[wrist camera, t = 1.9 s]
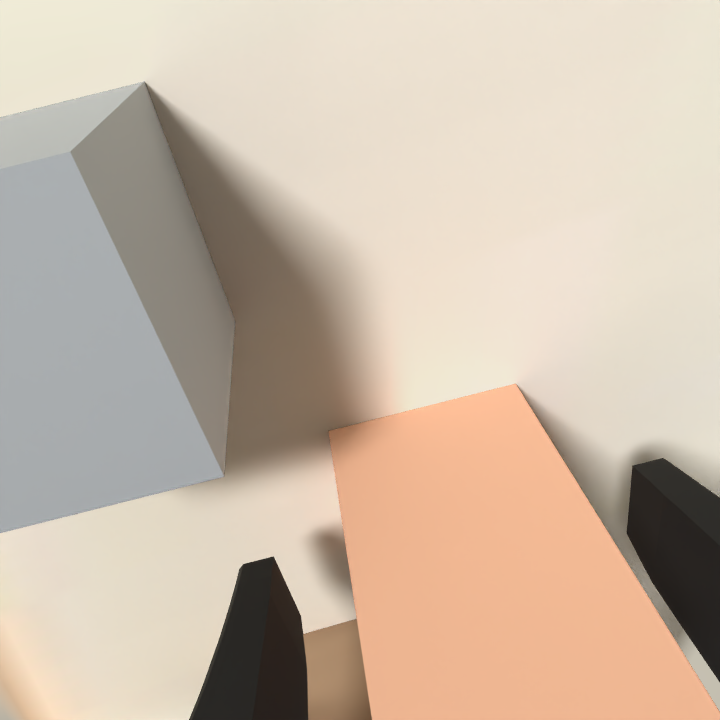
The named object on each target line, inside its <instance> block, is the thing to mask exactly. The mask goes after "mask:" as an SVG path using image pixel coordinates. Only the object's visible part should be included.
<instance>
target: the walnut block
mask: <svg viewBox="0 0 720 720" xmlns="http://www.w3.org/2000/svg"><path fill="white" fill-rule="evenodd" d="M303 637H304V645H305V654H306V663H307V681H308V720H372V716H371V710H370V703H369V696H368V690H367V683H366V676H365V670H364V663H363V657H362V650H361V643H360V637H359V630H358V623H357V619H355V620H351V621H348V622H344V623H341V624H337V625H334V626H330V627H327V628H323V629H320V630H316V631H313V632H309V633H306V634H303Z"/></svg>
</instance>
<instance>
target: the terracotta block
mask: <svg viewBox="0 0 720 720" xmlns="http://www.w3.org/2000/svg"><path fill="white" fill-rule="evenodd" d="M329 438H330V445H331V451H332V458H333V465H334V471H335V478H336V484H337V491H338V498H339V504H340V511H341V517H342V524H343V531H344V537H345V544H346V551H347V557H348V564H349V570H350V577H351V584H352V590H353V597H354V604H355V610H356V617H357V623H358V630H359V637H360V643H361V650H362V657H363V663H364V670H365V676H366V683H367V690H368V696H369V703H370V710H371V716H372V720H720V711H719V710H718V708H717V707H716V705H715V703H714V702H713V700H712V699H711V697H710V696H709V694H708V692H707V690H706V689H705V688H704V686H703V684H702V683H701V681H700V679H699V678H698V676H697V674H696V673H695V671H694V670H693V668H692V666H691V665H690V663H689V662H688V660H687V658H686V657H685V655H684V653H683V652H682V650H681V649H680V647H679V645H678V644H677V642H676V641H675V639H674V637H673V636H672V634H671V633H670V631H669V629H668V628H667V626H666V625H665V623H664V621H663V620H662V618H661V617H660V615H659V613H658V612H657V610H656V608H655V607H654V605H653V604H652V602H651V600H650V599H649V597H648V596H647V594H646V592H645V591H644V589H643V588H642V586H641V584H640V583H639V581H638V580H637V578H636V576H635V575H634V573H633V571H632V570H631V568H630V567H629V565H628V563H627V562H626V560H625V559H624V557H623V555H622V554H621V552H620V551H619V549H618V547H617V546H616V544H615V543H614V541H613V539H612V538H611V536H610V535H609V533H608V531H607V530H606V528H605V526H604V525H603V523H602V522H601V520H600V518H599V517H598V515H597V514H596V512H595V510H594V509H593V507H592V506H591V504H590V502H589V501H588V499H587V498H586V496H585V494H584V493H583V491H582V490H581V488H580V486H579V485H578V483H577V481H576V480H575V478H574V477H573V475H572V473H571V472H570V470H569V469H568V467H567V465H566V464H565V462H564V461H563V459H562V457H561V456H560V454H559V453H558V451H557V449H556V448H555V446H554V445H553V443H552V441H551V440H550V438H549V436H548V435H547V433H546V432H545V430H544V428H543V427H542V425H541V424H540V422H539V420H538V419H537V417H536V416H535V414H534V412H533V411H532V409H531V408H530V406H529V404H528V403H527V401H526V400H525V398H524V396H523V395H522V393H521V391H520V390H519V388H518V387H517V385H516V384H513V385H509V386H505V387H501V388H497V389H493V390H489V391H485V392H481V393H477V394H473V395H469V396H465V397H461V398H457V399H453V400H449V401H445V402H441V403H437V404H433V405H429V406H425V407H421V408H417V409H413V410H409V411H406V412H402V413H398V414H394V415H390V416H386V417H382V418H378V419H374V420H370V421H366V422H362V423H358V424H354V425H350V426H346V427H342V428H338V429H334V430H330V431H329Z"/></svg>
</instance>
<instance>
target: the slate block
mask: <svg viewBox="0 0 720 720" xmlns="http://www.w3.org/2000/svg"><path fill="white" fill-rule="evenodd" d="M234 332H235V319H234V317H233V314H232V311H231V309H230V306H229V303H228V301H227V298H226V295H225V293H224V290H223V287H222V285H221V282H220V280H219V277H218V274H217V272H216V269H215V266H214V264H213V261H212V258H211V256H210V253H209V251H208V248H207V245H206V243H205V240H204V237H203V235H202V232H201V229H200V227H199V224H198V221H197V219H196V216H195V214H194V211H193V208H192V206H191V203H190V200H189V198H188V195H187V192H186V190H185V187H184V184H183V182H182V179H181V177H180V174H179V171H178V169H177V166H176V163H175V161H174V158H173V155H172V153H171V150H170V148H169V145H168V142H167V140H166V137H165V134H164V132H163V129H162V126H161V124H160V121H159V118H158V116H157V113H156V111H155V108H154V105H153V103H152V100H151V97H150V95H149V92H148V89H147V87H146V84H145V82H141V83H137V84H133V85H129V86H125V87H121V88H117V89H113V90H109V91H105V92H101V93H96V94H92V95H88V96H84V97H80V98H76V99H72V100H68V101H64V102H60V103H56V104H52V105H48V106H44V107H40V108H36V109H32V110H28V111H24V112H20V113H16V114H12V115H8V116H4V117H0V533H3V532H7V531H11V530H15V529H19V528H22V527H26V526H30V525H34V524H38V523H42V522H46V521H50V520H54V519H58V518H62V517H66V516H70V515H74V514H78V513H82V512H86V511H90V510H94V509H98V508H102V507H106V506H110V505H114V504H118V503H122V502H126V501H130V500H134V499H138V498H142V497H145V496H149V495H153V494H157V493H161V492H165V491H169V490H173V489H177V488H181V487H185V486H189V485H193V484H197V483H201V482H205V481H209V480H213V479H217V478H221V477H224V473H225V459H226V445H227V431H228V417H229V403H230V389H231V374H232V360H233V346H234Z"/></svg>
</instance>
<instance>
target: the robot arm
mask: <svg viewBox="0 0 720 720" xmlns="http://www.w3.org/2000/svg"><path fill="white" fill-rule="evenodd" d="M627 534H628V536H629V538H630V540H631V542H632V544H633V546H634V548H635V550H636V552H637V554H638V556H639V558H640V560H641V562H642V564H643V566H644V568H645V569H646V571H647V573H648V575H649V577H650V579H651V581H652V582H653V584H654V585H655V587H656V589H657V590H658V592H659V593H660V595H661V596H662V598H663V599H664V601H665V602H666V604H667V605H668V607H669V608H670V610H671V611H672V613H673V614H674V615H675V617H676V618H677V620H678V621H679V623H680V624H681V626H682V627H683V629H684V630H685V632H686V633H687V635H688V636H689V638H690V639H691V641H692V642H693V644H694V645H695V646H696V648H697V649H698V651H699V652H700V654H701V655H702V657H703V658H704V660H705V661H706V663H707V664H708V666H709V667H710V669H711V670H712V671H713V673H714V674H715V676H716V677H717V679H718V680H719V682H720V498H719V497H718V496H717V495H715V494H714V493H712V492H711V491H709V490H708V489H707V488H705V487H704V486H702V485H701V484H699V483H698V482H697V481H695V480H694V479H692V478H691V477H690V476H688V475H687V474H685V473H684V472H683V471H681V470H680V469H678V468H677V467H675V466H674V465H673V464H671V463H670V462H668V461H667V460H665V459H664V458H661V459H657V460H653V461H650V462H646V463H642V464H638V465H634V466H633V467H632V478H631V490H630V502H629V513H628V525H627ZM189 720H308V681H307V663H306V654H305V645H304V637H303V629H302V621H301V615H300V613H299V611H298V609H297V606H296V604H295V602H294V600H293V598H292V596H291V593H290V591H289V589H288V587H287V585H286V582H285V580H284V578H283V576H282V574H281V572H280V569H279V567H278V565H277V563H276V561H275V559H274V557H270V558H266V559H262V560H258V561H254V562H250V563H246V564H243V565H242V567H241V568H240V569H239V573H238V577H237V581H236V585H235V588H234V592H233V596H232V599H231V603H230V606H229V609H228V613H227V616H226V619H225V622H224V625H223V629H222V632H221V635H220V638H219V641H218V644H217V647H216V650H215V653H214V655H213V658H212V661H211V664H210V667H209V670H208V672H207V675H206V678H205V681H204V684H203V686H202V689H201V692H200V694H199V697H198V699H197V702H196V704H195V707H194V709H193V712H192V714H191V716H190V719H189Z"/></svg>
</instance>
